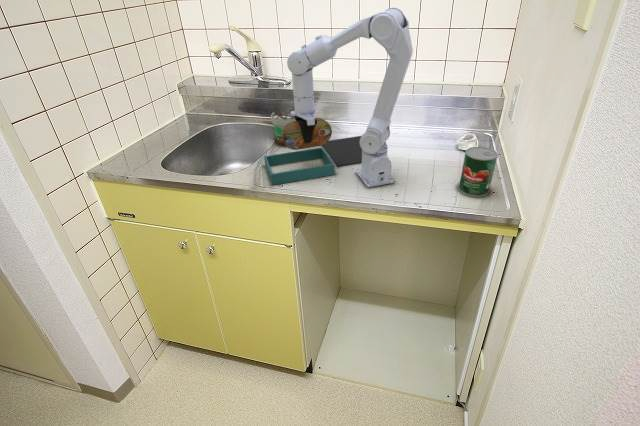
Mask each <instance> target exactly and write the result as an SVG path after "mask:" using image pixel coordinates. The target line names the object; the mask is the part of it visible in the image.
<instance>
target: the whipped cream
mask: <svg viewBox="0 0 640 426" xmlns="http://www.w3.org/2000/svg"><path fill="white" fill-rule="evenodd" d="M457 143H458V145H457V148H458V150H461V151H466V150H467V149H468V148H471V147H480V146H479V140H478V138H477V136H476V135H475V134H473V133H468V134H465V135H462V136H461V137H460V139H458V142H457Z"/></svg>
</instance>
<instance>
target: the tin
mask: <svg viewBox="0 0 640 426" xmlns="http://www.w3.org/2000/svg"><path fill="white" fill-rule="evenodd" d="M314 118H315V119H316V120H317V124H316V126H315V128H314V132H313V137H312V142H309V143H305V142H304V139H303V135H302V131H301V128H300V126H299V124H298V122H297V121H293V122H290V123H288V124H287V125H286V126H285V127H284V129H283V131H282V138H283V141H284V143H285V145H286V146H285V147H287V148H288V149H290V150H294V151H300V150H306V149H312V148H318V147H323V146H322V145H324V144H326V143H327V142H328V141H330V139H331V138H332V132H333V130H332V126H331V124H330V123H329V122H328V121H327V120H325V119H324V118H321V117H314Z"/></svg>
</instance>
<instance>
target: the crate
mask: <svg viewBox="0 0 640 426" xmlns="http://www.w3.org/2000/svg"><path fill="white" fill-rule="evenodd" d="M318 159H322V161H323V163H324V164H323V165H316V166H309V167H303V168H298V169H291V170H285V171H278V172H274V173H273V171H272V169H271V167H273V166H280V165H285V164H291V163H299V162H305V161H311V160H312V161H313V160H318ZM264 165H265V169H266V171H267V174H268V177H269V181H270V183H271V186H276V185H281V184H282V185H283V184H287V183H294V182H299V181H306V180H311V179H317V178H323V177H328V176H333V175H334V176H335V173H336V172H335V171H336V169H335V162H334V161H333V160H332V158H331V157H330V155H329V154H328V153H327V151H326V150H325V148H324V147H323V146H320V147H314V148H307V149H301V150H294V151H289V152H283V153H282V152H281V153H277V154H269V155H264Z"/></svg>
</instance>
